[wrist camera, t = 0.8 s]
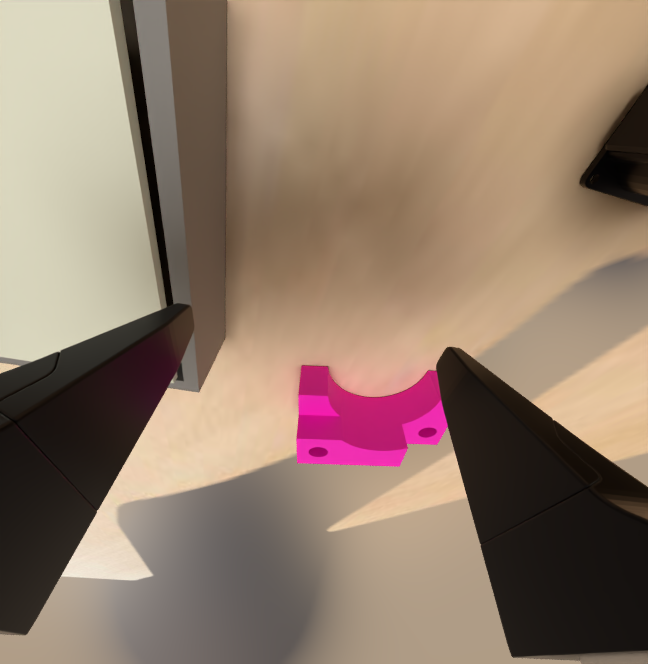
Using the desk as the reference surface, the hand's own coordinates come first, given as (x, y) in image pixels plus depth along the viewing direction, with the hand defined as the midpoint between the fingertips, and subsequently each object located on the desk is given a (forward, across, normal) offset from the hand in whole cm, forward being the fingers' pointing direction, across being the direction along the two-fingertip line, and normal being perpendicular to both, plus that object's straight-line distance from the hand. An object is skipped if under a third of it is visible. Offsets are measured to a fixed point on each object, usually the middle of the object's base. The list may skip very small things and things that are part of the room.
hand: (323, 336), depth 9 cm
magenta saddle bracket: (+9, -8, +20) cm, 24 cm away
